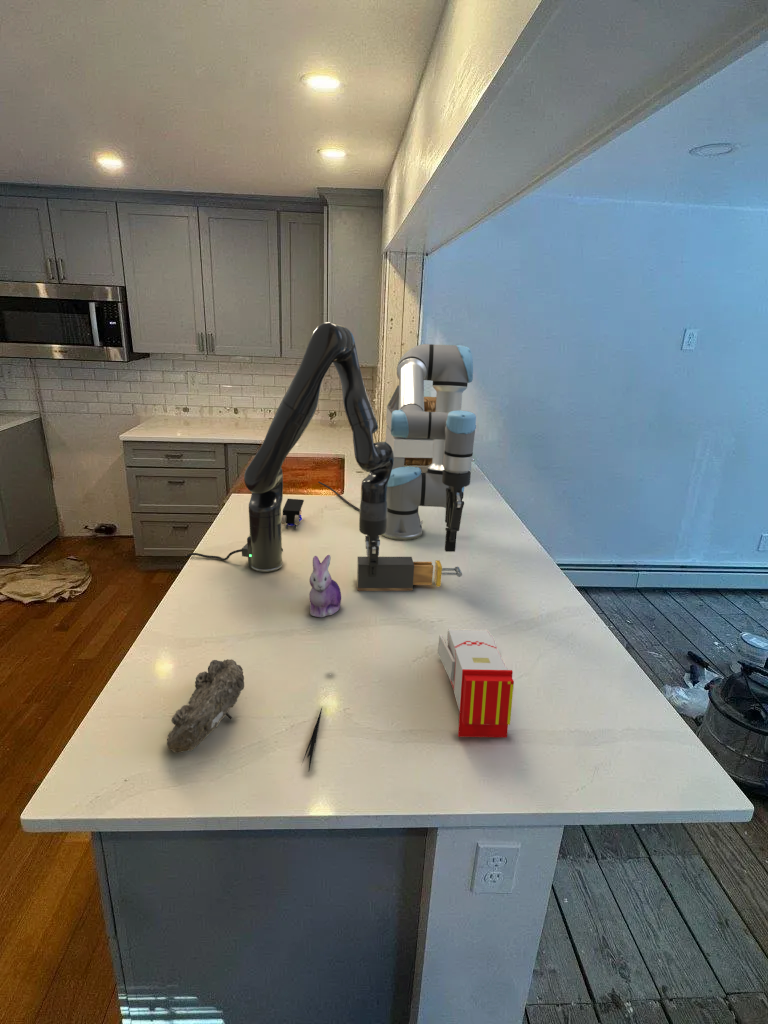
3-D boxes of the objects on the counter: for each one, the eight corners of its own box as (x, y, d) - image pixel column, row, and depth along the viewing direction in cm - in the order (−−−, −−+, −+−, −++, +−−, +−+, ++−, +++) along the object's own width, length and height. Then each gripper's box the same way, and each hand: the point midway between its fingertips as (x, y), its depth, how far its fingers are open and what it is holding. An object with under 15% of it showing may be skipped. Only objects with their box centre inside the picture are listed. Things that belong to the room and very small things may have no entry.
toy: (488, 613, 130) (523, 677, 101) (484, 667, 133) (517, 744, 104) (435, 612, 130) (455, 676, 101) (432, 666, 133) (451, 743, 103)
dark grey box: (410, 581, 165) (411, 556, 163) (412, 590, 160) (414, 564, 157) (356, 581, 164) (357, 556, 161) (357, 590, 159) (358, 564, 156)
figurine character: (300, 535, 198) (304, 515, 212) (299, 515, 195) (304, 497, 208) (280, 534, 198) (286, 515, 211) (279, 515, 195) (286, 496, 208)
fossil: (192, 660, 117) (244, 628, 112) (224, 691, 120) (276, 661, 115) (142, 746, 98) (202, 712, 93) (182, 779, 101) (242, 748, 96)
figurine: (314, 622, 141) (314, 568, 136) (300, 603, 150) (300, 551, 145) (349, 614, 146) (350, 561, 141) (333, 597, 154) (334, 546, 149)
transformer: (382, 463, 289) (386, 382, 275) (445, 464, 293) (451, 384, 279) (390, 482, 257) (394, 392, 243) (460, 483, 261) (468, 394, 247)
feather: (331, 679, 122) (336, 673, 122) (307, 777, 96) (313, 769, 95) (324, 675, 122) (329, 669, 121) (298, 772, 95) (304, 764, 95)
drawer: (458, 579, 166) (459, 560, 163) (461, 586, 162) (463, 566, 159) (388, 580, 164) (389, 560, 162) (389, 586, 160) (390, 566, 158)
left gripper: (389, 524, 148) (386, 583, 154) (384, 506, 161) (382, 560, 167) (360, 524, 147) (359, 583, 153) (358, 506, 161) (357, 560, 166)
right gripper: (476, 477, 146) (467, 560, 154) (465, 463, 158) (458, 541, 166) (447, 476, 145) (440, 560, 153) (439, 463, 158) (432, 541, 166)
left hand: (371, 571), depth 160 cm, fingers closed on dark grey box, 5 cm apart
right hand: (449, 550), depth 160 cm, fingers closed
